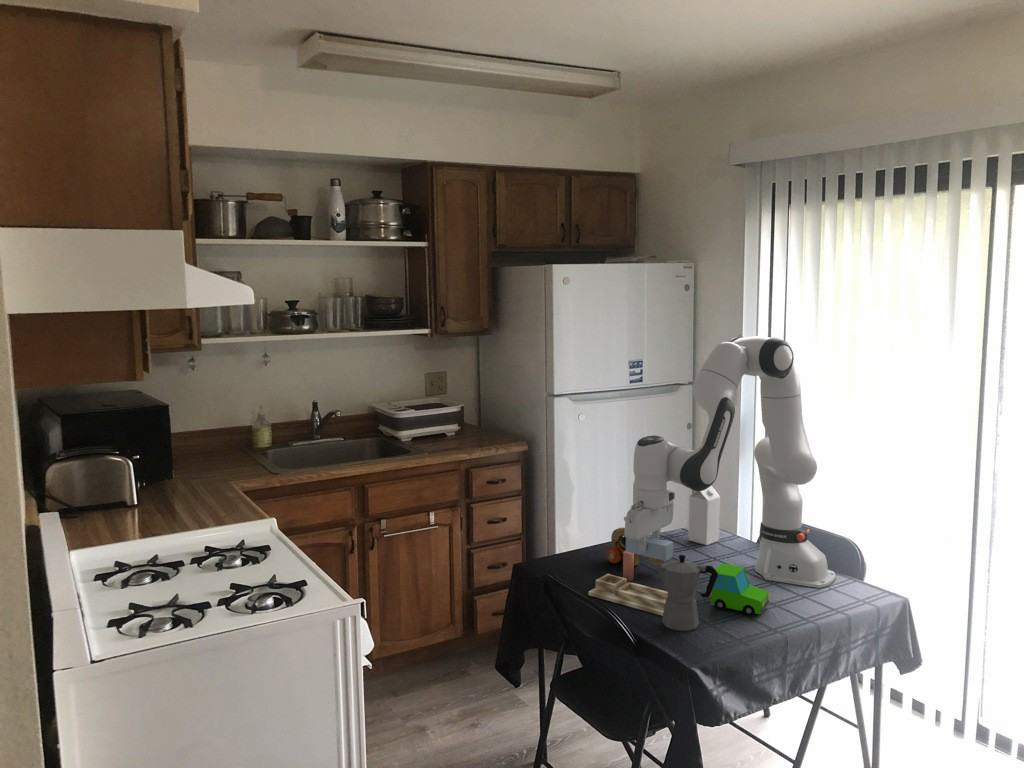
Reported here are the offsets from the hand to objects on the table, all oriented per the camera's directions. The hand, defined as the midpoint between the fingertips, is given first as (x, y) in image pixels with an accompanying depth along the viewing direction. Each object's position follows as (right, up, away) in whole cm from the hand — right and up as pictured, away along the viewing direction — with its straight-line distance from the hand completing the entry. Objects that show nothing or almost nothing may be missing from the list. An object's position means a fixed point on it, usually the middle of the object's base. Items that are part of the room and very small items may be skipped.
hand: (648, 548), depth 225 cm
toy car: (+24, -16, -3) cm, 29 cm away
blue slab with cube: (0, -2, 0) cm, 2 cm away
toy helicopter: (+1, -11, +29) cm, 31 cm away
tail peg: (-3, -13, +18) cm, 22 cm away
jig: (-3, -15, +4) cm, 15 cm away
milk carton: (+26, -8, +52) cm, 59 cm away
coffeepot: (+7, -17, -12) cm, 22 cm away
